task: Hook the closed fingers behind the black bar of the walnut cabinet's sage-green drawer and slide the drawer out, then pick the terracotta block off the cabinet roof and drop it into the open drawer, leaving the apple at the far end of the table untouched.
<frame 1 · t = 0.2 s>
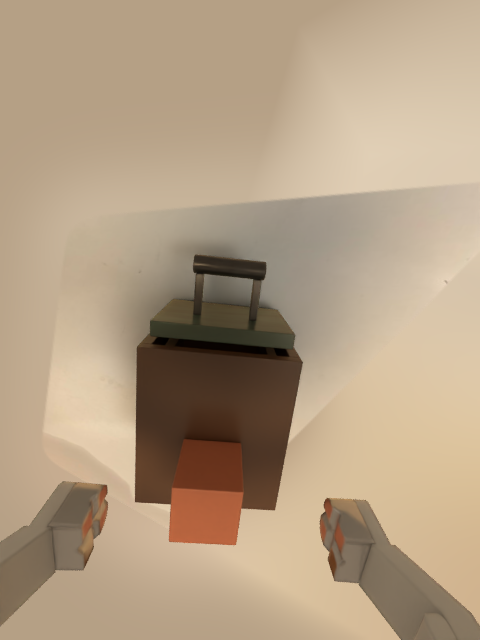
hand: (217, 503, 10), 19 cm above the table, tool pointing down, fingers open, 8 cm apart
block: (210, 464, 21), point 10 cm above the table, touching cabinet
drawer: (220, 356, 24), point 5 cm above the table, slide at 0.5 cm
cabinet: (218, 377, 30), on the table
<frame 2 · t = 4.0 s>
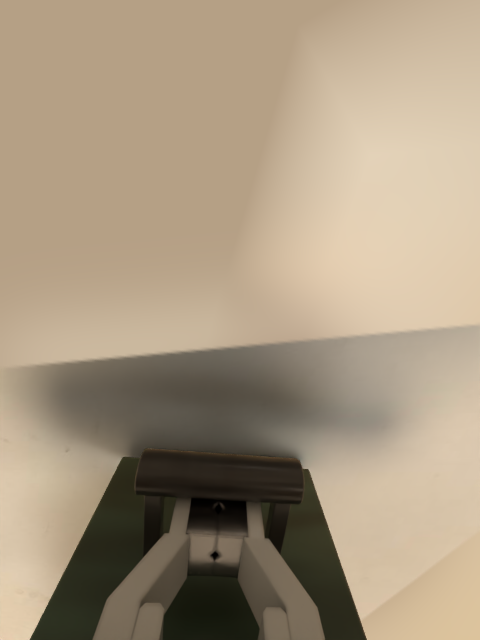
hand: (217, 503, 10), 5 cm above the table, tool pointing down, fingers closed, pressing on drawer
drawer: (205, 597, 12), point 5 cm above the table, slide at 3.4 cm, touching gripper
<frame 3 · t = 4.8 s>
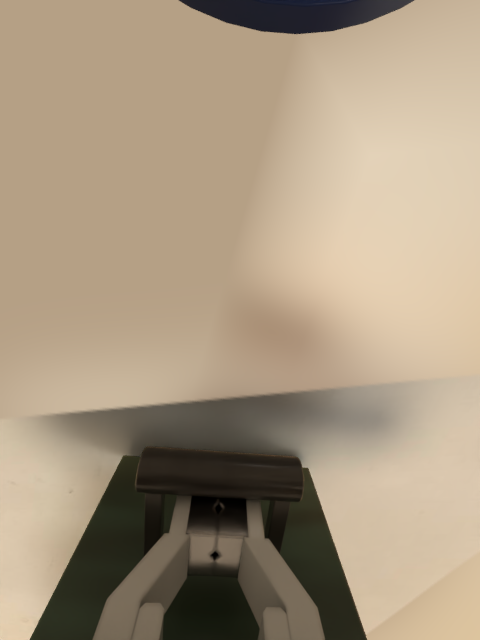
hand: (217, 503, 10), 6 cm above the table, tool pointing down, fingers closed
drawer: (206, 595, 13), point 5 cm above the table, slide at 6.5 cm
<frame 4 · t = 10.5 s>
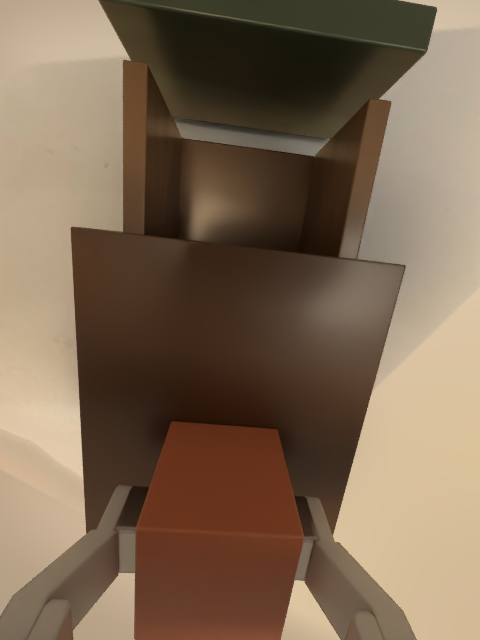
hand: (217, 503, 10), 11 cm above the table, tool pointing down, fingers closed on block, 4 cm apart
block: (220, 467, 12), point 10 cm above the table, touching cabinet, gripper
drawer: (249, 160, 13), point 5 cm above the table, slide at 6.6 cm
cabinet: (227, 338, 20), on the table
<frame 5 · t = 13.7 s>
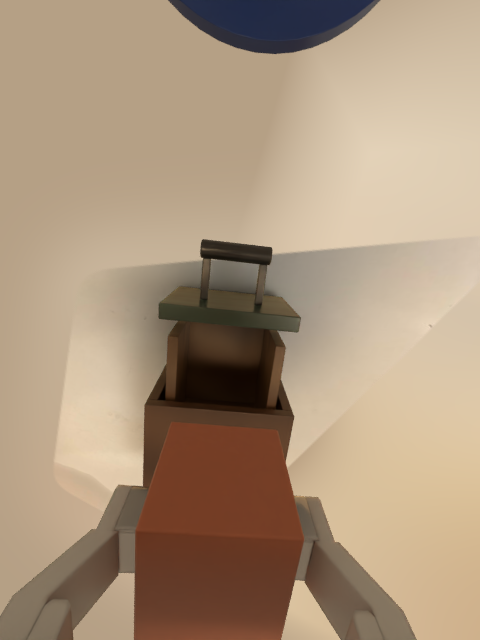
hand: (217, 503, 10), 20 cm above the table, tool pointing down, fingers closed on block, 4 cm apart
block: (220, 468, 12), point 18 cm above the table, touching gripper
drawer: (226, 341, 25), point 5 cm above the table, slide at 6.6 cm
cabinet: (218, 412, 32), on the table
when the fingers open (9 cm above the table, at t = 16.8 s): block drops 5 cm, resting on drawer.
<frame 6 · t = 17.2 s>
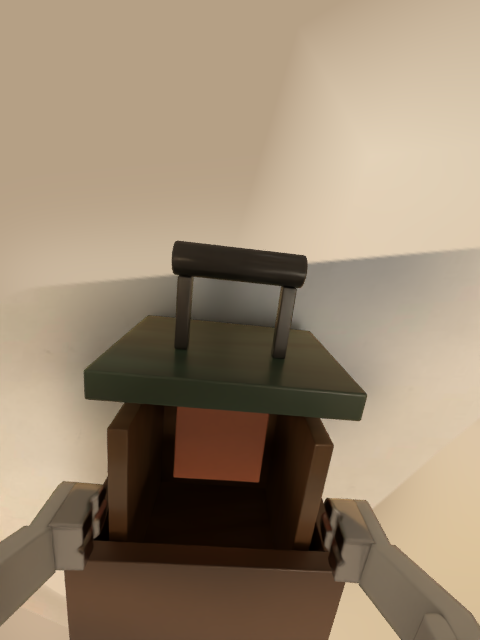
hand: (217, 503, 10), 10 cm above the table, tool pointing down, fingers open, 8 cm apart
block: (222, 396, 18), point 2 cm above the table, touching drawer
drawer: (222, 412, 15), point 5 cm above the table, slide at 6.6 cm, touching block
cabinet: (212, 492, 22), on the table
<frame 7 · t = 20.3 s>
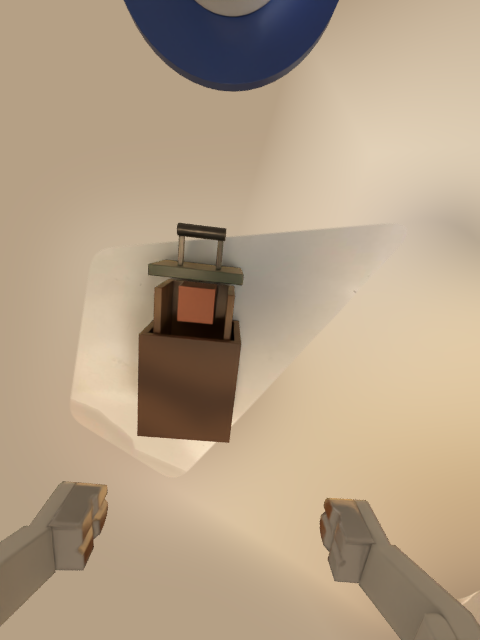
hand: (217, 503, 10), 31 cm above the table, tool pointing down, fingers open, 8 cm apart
block: (199, 298, 38), point 2 cm above the table, touching drawer
drawer: (198, 297, 35), point 5 cm above the table, slide at 6.6 cm, touching block
cabinet: (196, 359, 42), on the table
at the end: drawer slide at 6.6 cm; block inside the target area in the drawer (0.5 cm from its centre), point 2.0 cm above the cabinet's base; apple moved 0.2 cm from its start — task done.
